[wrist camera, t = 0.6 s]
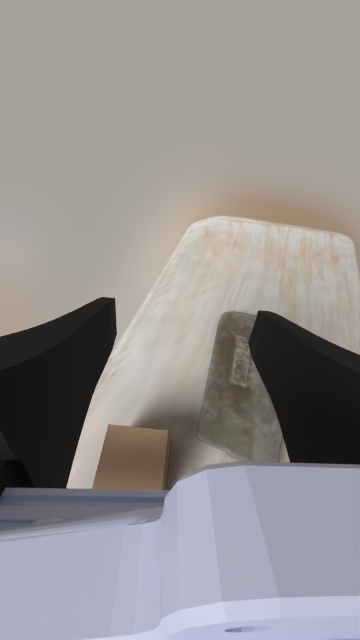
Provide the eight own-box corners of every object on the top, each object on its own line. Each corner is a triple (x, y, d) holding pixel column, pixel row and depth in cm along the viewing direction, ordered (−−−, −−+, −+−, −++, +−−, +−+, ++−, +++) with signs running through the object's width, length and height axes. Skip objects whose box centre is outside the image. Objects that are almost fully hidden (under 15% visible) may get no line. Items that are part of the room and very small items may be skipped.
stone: (223, 306, 32) (297, 319, 29) (221, 319, 34) (291, 332, 31) (183, 439, 21) (297, 481, 18) (185, 445, 23) (287, 483, 20)
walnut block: (165, 501, 20) (159, 511, 15) (111, 495, 20) (88, 502, 15) (171, 439, 22) (168, 430, 18) (124, 434, 23) (108, 424, 18)
